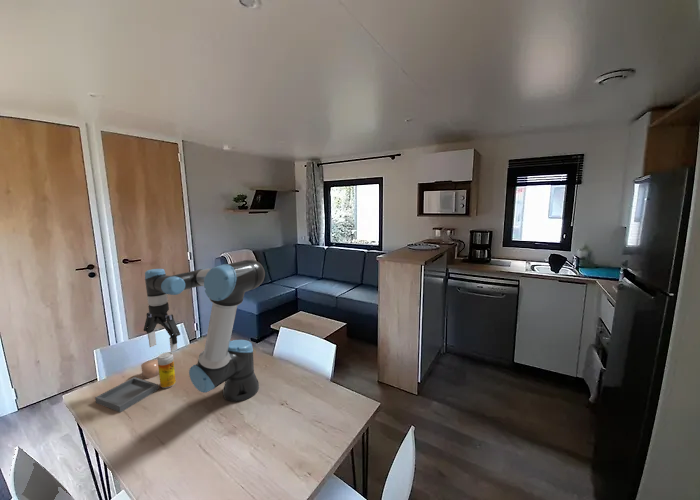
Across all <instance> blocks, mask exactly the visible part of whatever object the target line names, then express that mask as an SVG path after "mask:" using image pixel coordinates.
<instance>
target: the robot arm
mask: <svg viewBox="0 0 700 500" xmlns="http://www.w3.org/2000/svg"><path fill="white" fill-rule="evenodd" d="M166 274H167V273H166V271H165V269H164V268H152V269H148V270H146V271H145V272H144V281H145V289H146V296H147V297H146V298H147V305H148V312H146V318H145V322H144V327H143V332H146V333H147V339H148V346H149V348H152V347H155V346H156V345H157V338H156V331H155V330H156V329H155V328H156V327H157V325H161V326H162V327H164V330H166V332H167V334H168V336H170V337H169V346H170V353H172V352H173V353H174V352H175V351H177V350H178V337H179V336H180V335H181V332H180V330H179V328H178V325H177V323H176V321H175V318H174V315H173V314H170V315H169V314H168V312H169V310H170V307H169V306H170V305H169V302H168V301H169V299H168V295H169V296H170V295H171V296H173V295H174V296H176V295H180V294H181V293H183V292H184V291H187V290H189V289H193V288H199V287H203V288H204V289H205V290H204V292H205V294H206V296H207V297H208V298H209V301H210V302H211V303H212V306H211V311H210V317H209V321H208V327H207V333H206V339H205V345H204V350H202V351H201V352H200V353H199V355H198V357H197V358H198V359H197V363H196V364H192V366H191V367H190V368H189V370H188V371H189V372H188V373H189V374H188V375H189V380H190V381H191V383H192V385H193V386H194V387H195V389H196V390H197V391H198V392H201V393H203V394H204V393H208V392H211V391H212V390H215V389H216V388H217V387H218V386H221V384H223V383H224V385H223V389H222V394H223V395H222V396H223V398H224V400H227V401H229V402H242V401H246V400H248V399H251V398H252V397H254V396H255V395H256V394H257V393H258V391H259V389H260V385H259V384H260V382H259V379H257V376H256V373H255V368H254V367H255V366H254V349H253V348H254V347H253V343H252V342H251V341H249V340H246V339H234V340H231V338H232V335H233V334H232V332H233V328H234V324H235V319H236V314H237V310H238V306H239V305H241V304H242V303H243V302H244V297H245V293H246V292H249V291H251V290H254V289H256V288H258V287H259V286H260V285H262V283H263V282H264V280H265V277H266V271H265V269H264V267H263V265H262V264H261V263H260V262H259V261H257V260H254V259H245V260H240V261H236V262H231V263H227V264H226V263H225V264H224V263H223V264H219V265H218V266H214V267H212V268H199V269H196V270H192V271H186V272H182V273H178V274H172V275H166Z"/></svg>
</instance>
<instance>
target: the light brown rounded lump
mask: <svg viewBox="0 0 700 500" xmlns="http://www.w3.org/2000/svg"><path fill="white" fill-rule="evenodd" d="M140 366H141V374H142V378H143V380H147V379H152V378H155V377H157V376H159V368H158V359H151V360H146V361H145V362H143V363H141V365H140Z"/></svg>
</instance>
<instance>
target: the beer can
mask: <svg viewBox="0 0 700 500" xmlns="http://www.w3.org/2000/svg"><path fill="white" fill-rule="evenodd" d="M157 360H158V368H159V374H158V376H159V385H160V388H162V389H169V388H172V387H174V385H175V384H176V382H177V381H176V371H175V361H174V355H173V353H172V352H171V351H170V352H163V353H161V354H159V355H158V357H157Z"/></svg>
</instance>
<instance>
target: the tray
mask: <svg viewBox="0 0 700 500" xmlns="http://www.w3.org/2000/svg"><path fill="white" fill-rule="evenodd" d="M159 390H160V389H159V384H158V383H155V382H153V381H149V380H147V379H144V378H143V379H142V378H140V377H139V378H138V377H136V376H133V377H131V378H129V379H128V380H126V381H124V382H122V383H120V384H118V385H116V386H115V387H113V388H111V389H109V390H107V391H105V392H102V393H101V394H99V395H96V396H95V403H96V404H98V405H100V406H103V407H105V408H108V409H111V410H112V411H115V412H118V413H122V412H123V411H124V412H125V410H127V409H128V408H130V407H132V406H134V405H135V404H137V403H139V402H140V401H142V400H143V399H145V398H146V397H148V396H150V395H152V394H154V393H155V392H157V391H159Z"/></svg>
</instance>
